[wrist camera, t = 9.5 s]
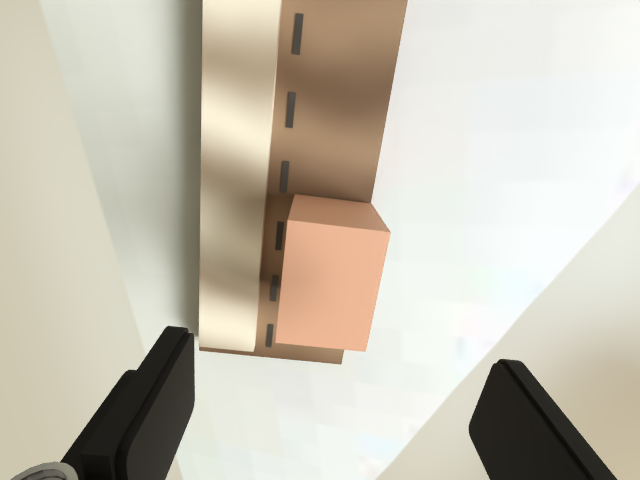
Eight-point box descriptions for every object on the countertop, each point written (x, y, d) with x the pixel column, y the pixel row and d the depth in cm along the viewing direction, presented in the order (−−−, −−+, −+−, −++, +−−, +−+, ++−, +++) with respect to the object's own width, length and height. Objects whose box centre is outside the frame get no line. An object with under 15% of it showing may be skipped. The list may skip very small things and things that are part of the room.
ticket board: (213, -101, 18) (199, -131, 16) (414, -67, 19) (427, -91, 17) (205, 338, 27) (195, 357, 25) (339, 351, 28) (342, 371, 26)
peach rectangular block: (294, 194, 22) (287, 220, 16) (371, 203, 22) (390, 232, 16) (284, 290, 24) (275, 342, 18) (353, 297, 24) (365, 351, 19)
